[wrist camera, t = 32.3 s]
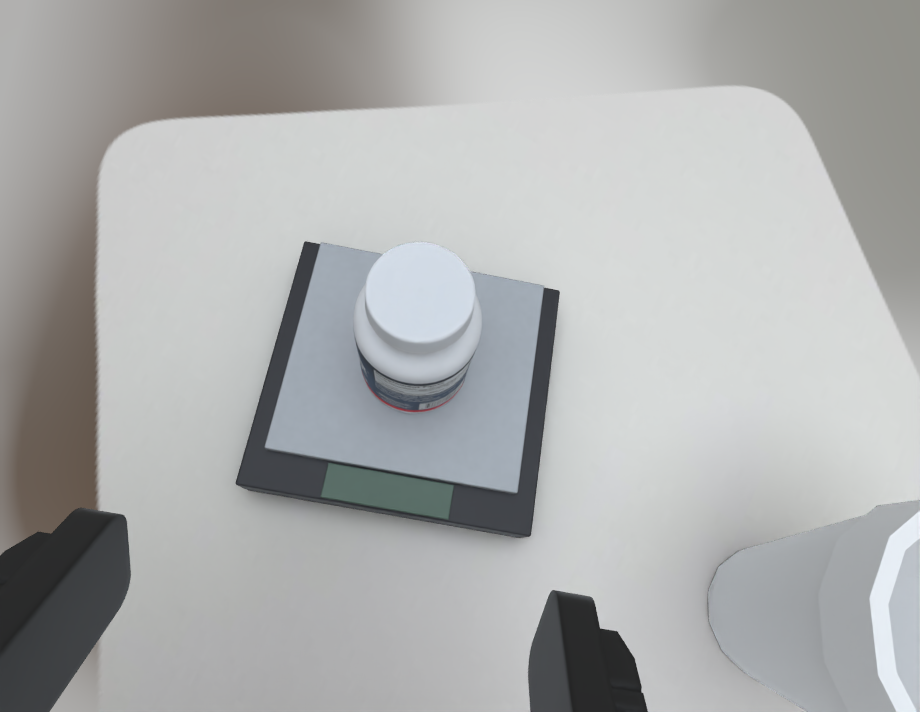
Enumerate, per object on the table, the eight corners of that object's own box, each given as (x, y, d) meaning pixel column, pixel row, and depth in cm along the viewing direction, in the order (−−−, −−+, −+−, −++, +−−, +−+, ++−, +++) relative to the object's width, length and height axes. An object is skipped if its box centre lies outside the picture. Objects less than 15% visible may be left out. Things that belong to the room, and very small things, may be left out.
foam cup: (641, 613, 30) (812, 653, 17) (744, 480, 32) (955, 434, 20) (792, 764, 28) (1096, 924, 16) (887, 612, 31) (1209, 648, 19)
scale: (246, 490, 30) (231, 483, 27) (310, 261, 34) (302, 234, 31) (521, 538, 30) (533, 536, 27) (549, 307, 35) (563, 285, 32)
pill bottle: (375, 304, 30) (366, 209, 22) (475, 326, 31) (504, 239, 22) (349, 403, 29) (329, 341, 20) (455, 426, 29) (479, 373, 20)
